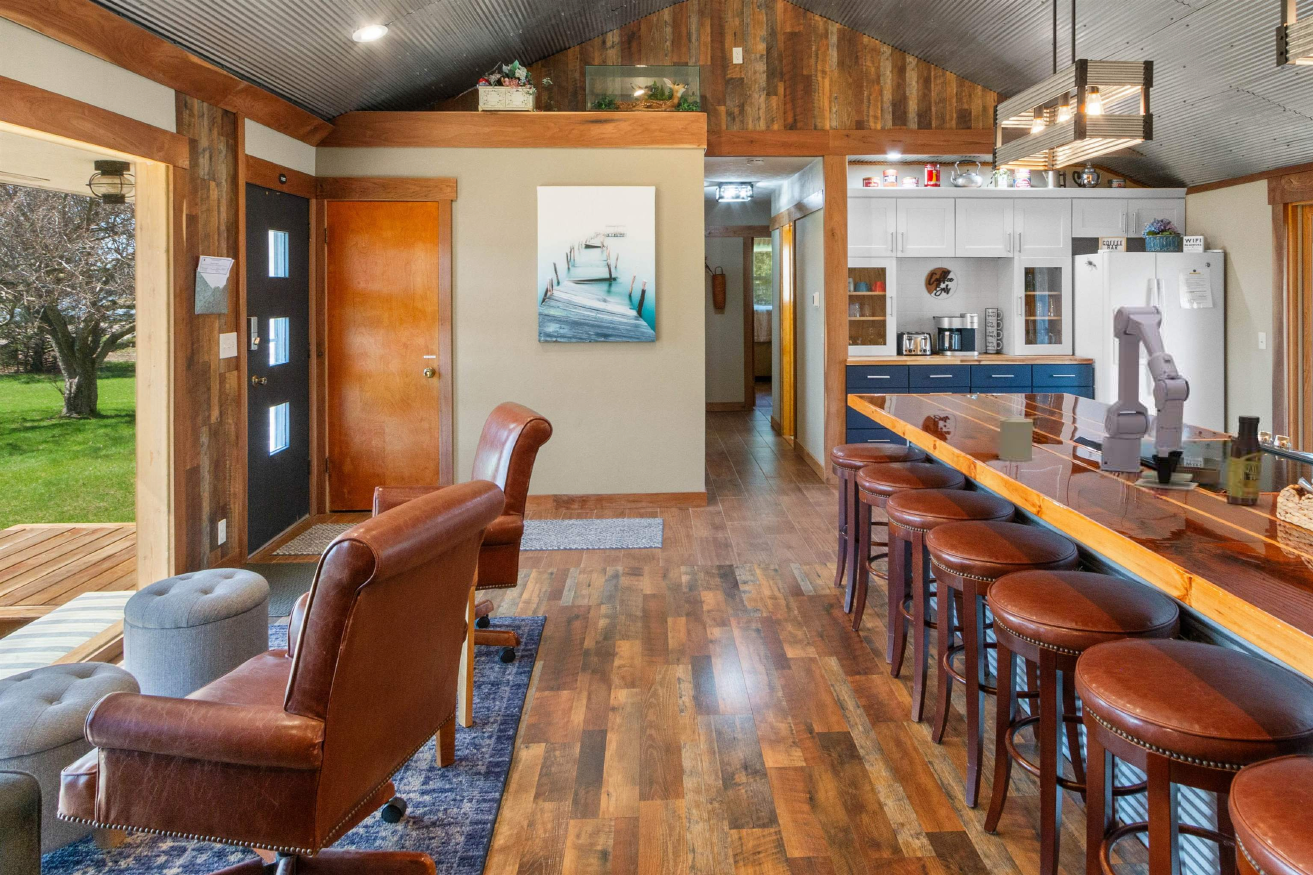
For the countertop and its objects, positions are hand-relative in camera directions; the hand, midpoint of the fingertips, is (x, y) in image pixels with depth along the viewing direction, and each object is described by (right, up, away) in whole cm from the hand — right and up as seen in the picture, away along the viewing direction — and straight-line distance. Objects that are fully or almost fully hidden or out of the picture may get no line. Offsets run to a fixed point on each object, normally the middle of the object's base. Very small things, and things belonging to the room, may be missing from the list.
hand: (1166, 481), depth 237 cm
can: (-22, +4, +42) cm, 48 cm away
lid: (0, +1, 0) cm, 1 cm away
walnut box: (+9, 0, +3) cm, 9 cm away
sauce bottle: (+6, -4, -22) cm, 23 cm away
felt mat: (0, -1, 0) cm, 1 cm away
